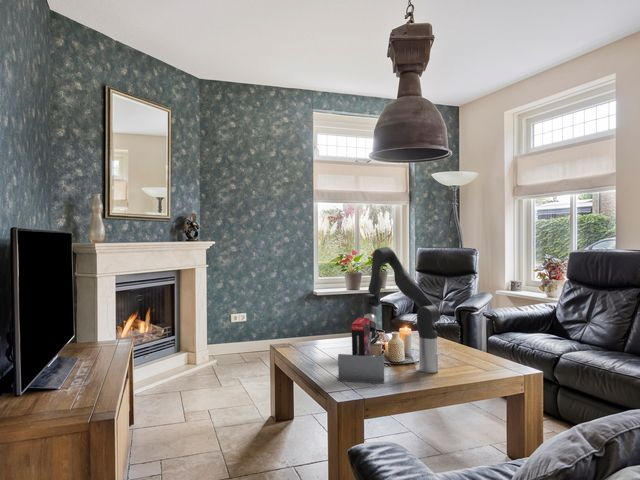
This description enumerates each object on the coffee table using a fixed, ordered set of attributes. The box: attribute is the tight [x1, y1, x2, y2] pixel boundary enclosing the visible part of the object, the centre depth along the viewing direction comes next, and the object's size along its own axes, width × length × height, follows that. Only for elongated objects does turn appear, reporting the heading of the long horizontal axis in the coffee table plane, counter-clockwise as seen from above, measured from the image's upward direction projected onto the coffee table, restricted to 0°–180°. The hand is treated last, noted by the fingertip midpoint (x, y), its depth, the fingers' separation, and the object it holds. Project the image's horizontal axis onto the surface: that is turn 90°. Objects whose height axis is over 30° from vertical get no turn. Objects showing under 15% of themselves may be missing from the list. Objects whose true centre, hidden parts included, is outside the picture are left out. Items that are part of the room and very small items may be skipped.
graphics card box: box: [351, 317, 372, 355], centre depth 234 cm, size 17×7×27 cm, turn 165°
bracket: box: [336, 353, 385, 385], centre depth 228 cm, size 22×14×12 cm, turn 78°
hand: (367, 350), depth 254 cm, fingers closed
